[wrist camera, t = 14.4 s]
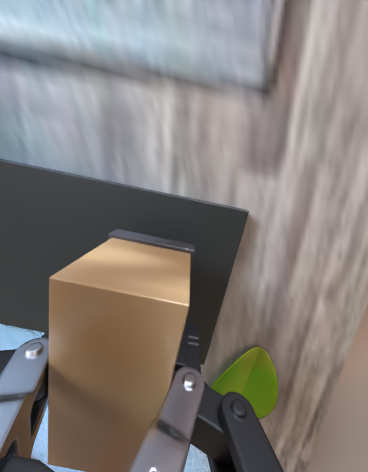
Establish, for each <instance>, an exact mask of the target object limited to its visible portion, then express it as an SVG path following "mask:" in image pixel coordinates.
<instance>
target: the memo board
mask: <svg viewBox="0 0 368 472" xmlns="http://www.w3.org/2000/svg"><path fill="white" fill-rule="evenodd" d="M248 213H249V212H248V211H247V210H244V209H240V208H235V207H230V206H225V205H220V204H215V203H211V202H206V201H201V200H196V199H191V198H187V197H182V196H177V195H172V194H167V193H162V192H158V191H153V190H148V189H143V188H138V187H133V186H129V185H124V184H119V183H114V182H109V181H104V180H100V179H95V178H90V177H85V176H80V175H76V174H71V173H66V172H61V171H56V170H51V169H47V168H42V167H37V166H32V165H27V164H22V163H18V162H13V161H8V160H3V159H0V324H5V325H10V326H15V327H20V328H25V329H30V330H35V331H40V332H45V333H46V332H47V331H48V330H49V278H50V277H51V276H52V275H54V274H55V273H57V272H59V271H60V270H62V269H63V268H65V267H66V266H68V265H70V264H71V263H73V262H74V261H76V260H77V259H79V258H81V257H82V256H84V255H85V254H87V253H89V252H90V251H92V250H93V249H95V248H96V247H98V246H100V245H101V244H103V243H104V242H106V241H108V240H109V233H111V232H113V231H114V230H116V229H120V230H125V231H130V232H135V233H140V234H145V235H150V236H154V237H159V238H164V239H169V240H174V241H179V242H183V243H188V244H193V245H195V254H194V258H193V262H192V267H191V271H190V307H189V311H188V314H189V316H188V323H193V324H196V326H197V328H198V330H199V346H200V364H204V363H205V359H206V356H207V353H208V349H209V346H210V342H211V339H212V336H213V332H214V329H215V326H216V322H217V319H218V315H219V312H220V309H221V305H222V302H223V298H224V295H225V292H226V288H227V285H228V281H229V278H230V275H231V271H232V268H233V264H234V261H235V258H236V254H237V251H238V247H239V244H240V241H241V237H242V234H243V230H244V227H245V224H246V220H247V217H248Z"/></svg>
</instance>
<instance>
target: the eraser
mask: <svg viewBox="0 0 368 472" xmlns="http://www.w3.org/2000/svg"><path fill="white" fill-rule="evenodd" d="M194 254H195V245H193V244H188V243H183V242H179V241H174V240H169V239H164V238H159V237H154V236H150V235H145V234H140V233H135V232H130V231H125V230H120V229H116V230H114V231H113V232H111V233H109V240H108V241H106V242H104V243H103V244H101V245H100V246H98V247H96V248H95V249H93V250H92V251H90V252H89V253H87V254H85V255H84V256H82V257H81V258H79V259H77V260H76V261H74V262H73V263H71V264H70V265H68V266H66V267H65V268H63V269H62V270H60V271H59V272H57V273H55V274H54V275H52V276H51V277H50V278H49V370H48V464H49V465H55V466H60V467H65V468H70V469H75V470H80V471H86V472H129V470H130V467H131V465H132V463H133V461H134V459H135V456H136V454H137V452H138V450H139V448H140V446H141V443H142V441H143V439H144V437H145V435H146V433H147V430H148V428H149V426H150V424H151V422H152V421H153V419H155V418H156V416H157V414H158V412H159V410H160V407H161V405H162V403H163V401H164V398H165V396H166V394H167V392H168V390H169V387H170V385H171V381H172V376H173V372H174V368H175V364H176V360H177V356H178V352H179V348H180V344H181V339H182V335H183V331H184V327H185V323H186V319H187V315H188V311H189V307H190V271H191V267H192V262H193V258H194Z"/></svg>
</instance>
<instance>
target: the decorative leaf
mask: <svg viewBox="0 0 368 472" xmlns="http://www.w3.org/2000/svg"><path fill="white" fill-rule="evenodd" d="M211 389H213V390H215V391H216V392H218V393H220V394H222V395H223V396H224V395H225V394H226V393H228V392H237V393H239V394H241V395H243V396H244V397H245V398H246V399H247V400H248V401H249V402H250V404H251V405H252V407H253V409H254V411H255V413H256V415H257V417H258V419H260V418H263V417H265V416H267V415H268V414H269V413H270V412H271V411H272V410H273V409H274V407H275V404H276V401H277V396H278V382H277V376H276V371H275V368H274V365H273V363H272V361H271V359H270V357H269V355H268V354H267V352H266V351H265V350H264V349H262V348H260V347H255V348H252V349H250V350H249V351H247V352H246V353H245V354H243V355H242V356H241V357H240V358H239V359H237V360H236V361H235V362H234V363H233V364H232V365H231V366H230V367H229V368H228V369H227V370H226V371H225V372H224V373H223V374H222V375H221V376H220V377H219V378H218V379H217V380H216V381H215V382H214V383H213V385H212V386H211Z"/></svg>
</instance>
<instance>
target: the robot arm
mask: <svg viewBox="0 0 368 472" xmlns="http://www.w3.org/2000/svg"><path fill="white" fill-rule="evenodd" d="M188 316H189V314H188V315H187V319H186V323H185V327H184V331H183V335H182V339H181V344H180V348H179V352H178V356H177V360H176V364H175V368H174V372H173V376H172V381H171V385H170V387H169V390H168V392H167V394H166V396H165V398H164V401H163V403H162V405H161V407H160V410H159V412H158V414H157V416H156V418H155V419H153V421H152V422H151V424H150V426H149V428H148V430H147V433H146V435H145V437H144V439H143V441H142V443H141V446H140V448H139V450H138V452H137V454H136V456H135V459H134V461H133V463H132V465H131V467H130V470H129V472H183V471H184V467H185V464H186V460H187V456H188V452H189V448H190V443H191V444H192V445H194V446H195V447H197V448H198V449H199V450H201V451H202V452H204V453H205V454H207V457H208V461H209V465H210V470H211V472H284V471H283V469H282V467H281V465H280V463H279V461H278V459H277V457H276V454H275V452H274V450H273V448H272V446H271V444H270V442H269V440H268V438H267V436H266V434H265V432H264V430H263V428H262V426H261V424H260V422H259V420H258V417H257V415H256V413H255V411H254V409H253V407H252V405H251V404H250V402H249V401H248V400H247V399H246V398H245V397H244V396H243V395H241V394H239V393H237V392H228V393H226V394H225V395H224V396H223V395H222V394H220V393H218V392H216V391H215V390H213V389H211V388H210V387H209V386H208V385H207V384H206V383H205V381H204V379H203V377H202V375H201V367H200V346H199V330H198V328H197V326H196V324H193V323H188ZM48 370H49V330H48V331H47V332H46V333H45V334H44V335H43V336H42V337H41V338H36V339H33V340H30V341H28V342H26V343H24V344H23V345H21V346H20V347H19V348H18V349H14V350H3V351H0V472H54V471H53V470H52V469H50V468H49V467H48V466H46V465H45V464H43V463H42V462H41V461H39V460H36V459H31V454H32V449H33V445H34V441H35V438H36V436H37V433H38V430H39V427H40V424H41V422H42V419H43V416H44V413H45V411H46V408H47V405H48Z"/></svg>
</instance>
